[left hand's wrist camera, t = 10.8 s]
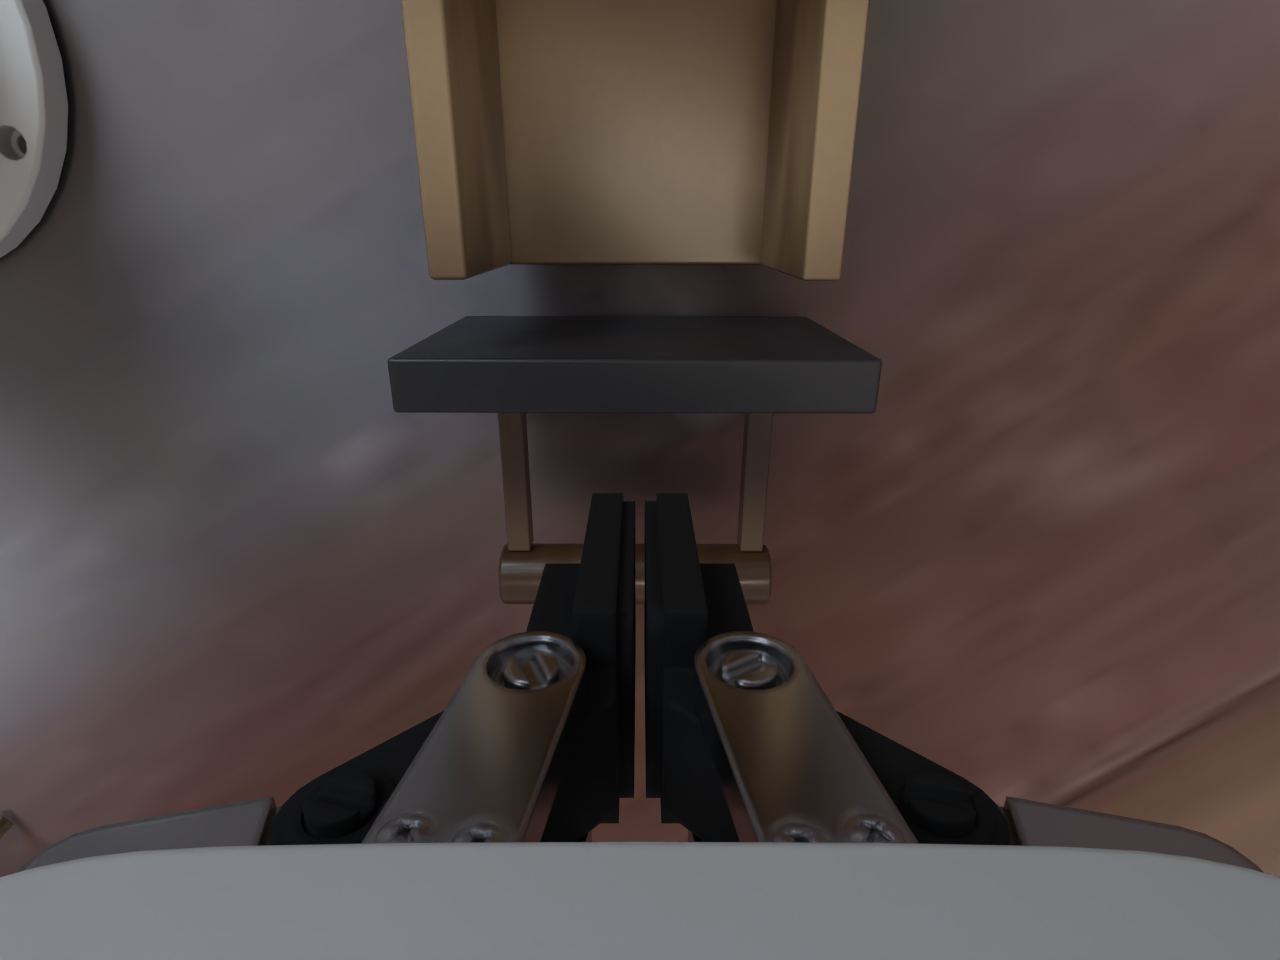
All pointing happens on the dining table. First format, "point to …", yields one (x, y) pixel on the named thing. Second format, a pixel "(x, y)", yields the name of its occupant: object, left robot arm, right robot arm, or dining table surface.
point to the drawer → (634, 220)
